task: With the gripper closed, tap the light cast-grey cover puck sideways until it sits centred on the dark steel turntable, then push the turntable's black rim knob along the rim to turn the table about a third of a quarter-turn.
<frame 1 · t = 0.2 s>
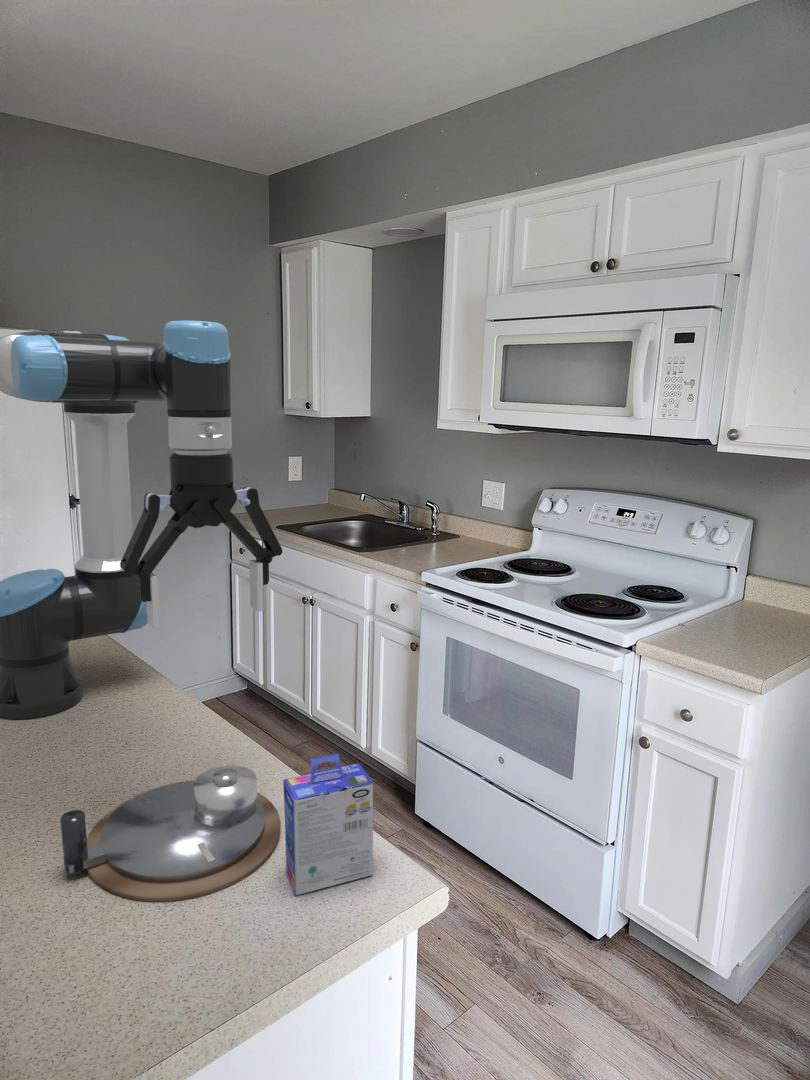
hand: (207, 617, 94), 28 cm above the counter, fingers open, 13 cm apart
base: (185, 837, 94), on the counter
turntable: (167, 812, 92), point 4 cm above the counter, hinge at 0.0°, touching cover
cover: (226, 808, 96), point 2 cm above the counter, touching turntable
ink cartridge box: (328, 873, 88), on the counter
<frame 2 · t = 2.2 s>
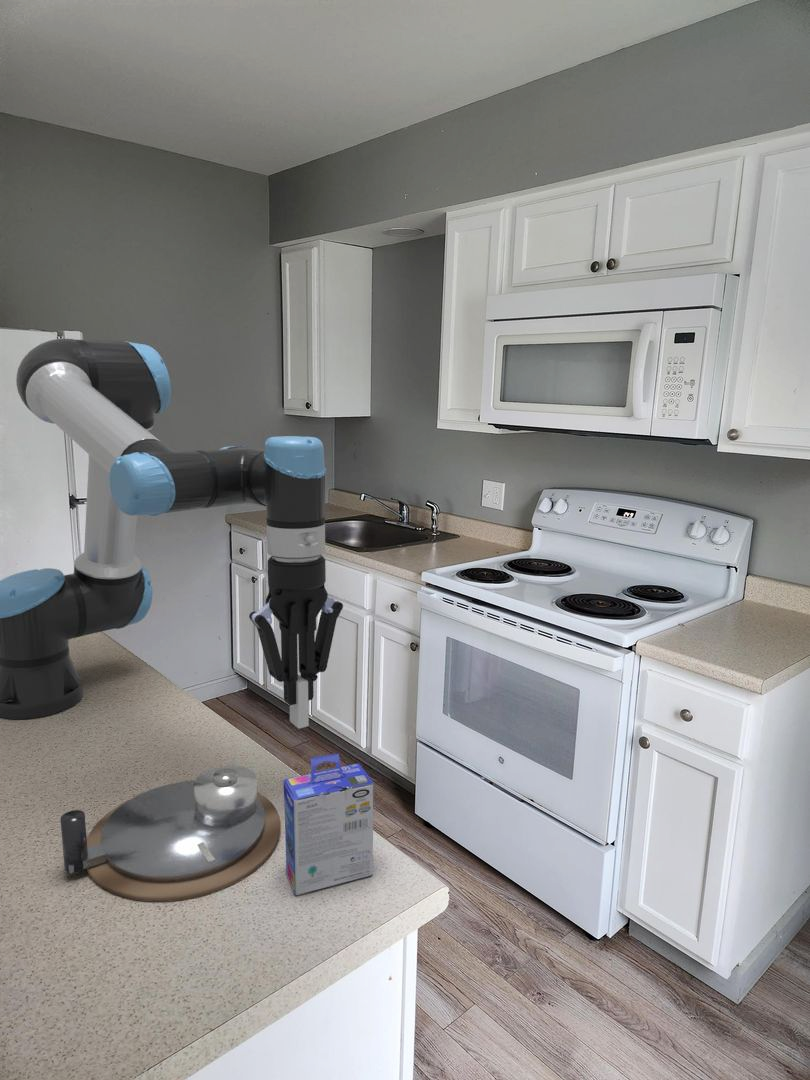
hand: (299, 723, 100), 12 cm above the counter, fingers closed
nothing on the counter moved.
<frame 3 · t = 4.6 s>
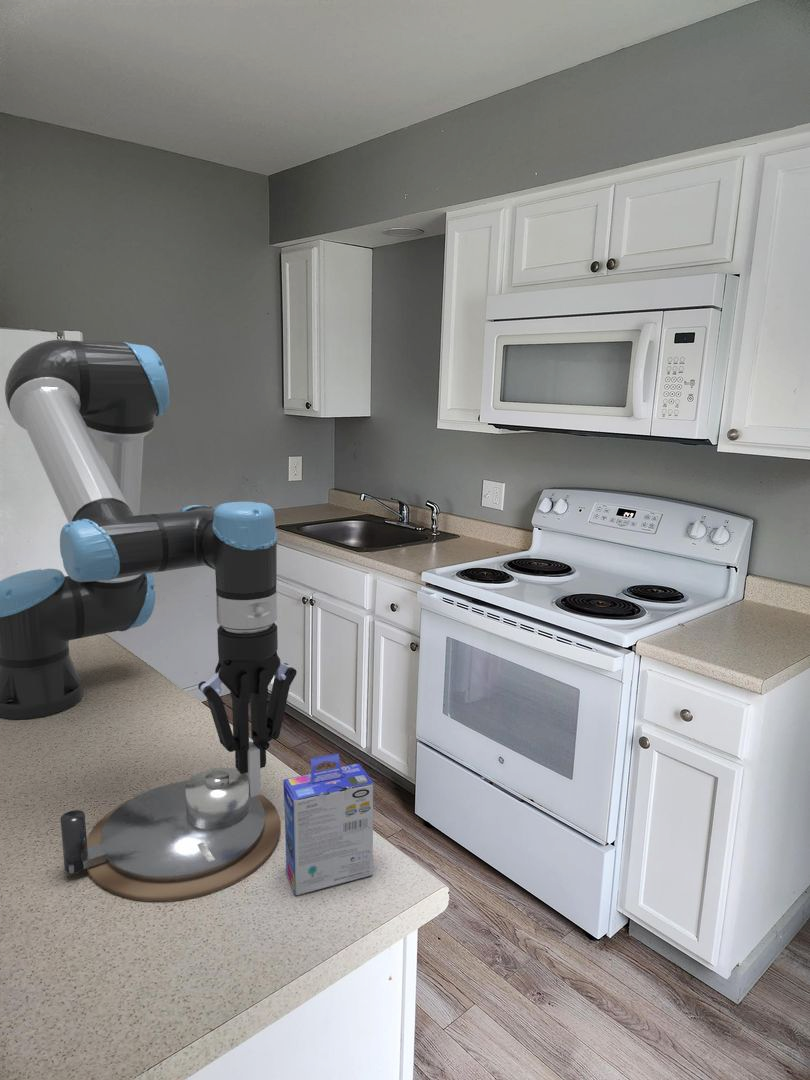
hand: (251, 791, 98), 4 cm above the counter, fingers closed
cover: (218, 811, 96), point 2 cm above the counter, touching gripper, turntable
everything else where it was.
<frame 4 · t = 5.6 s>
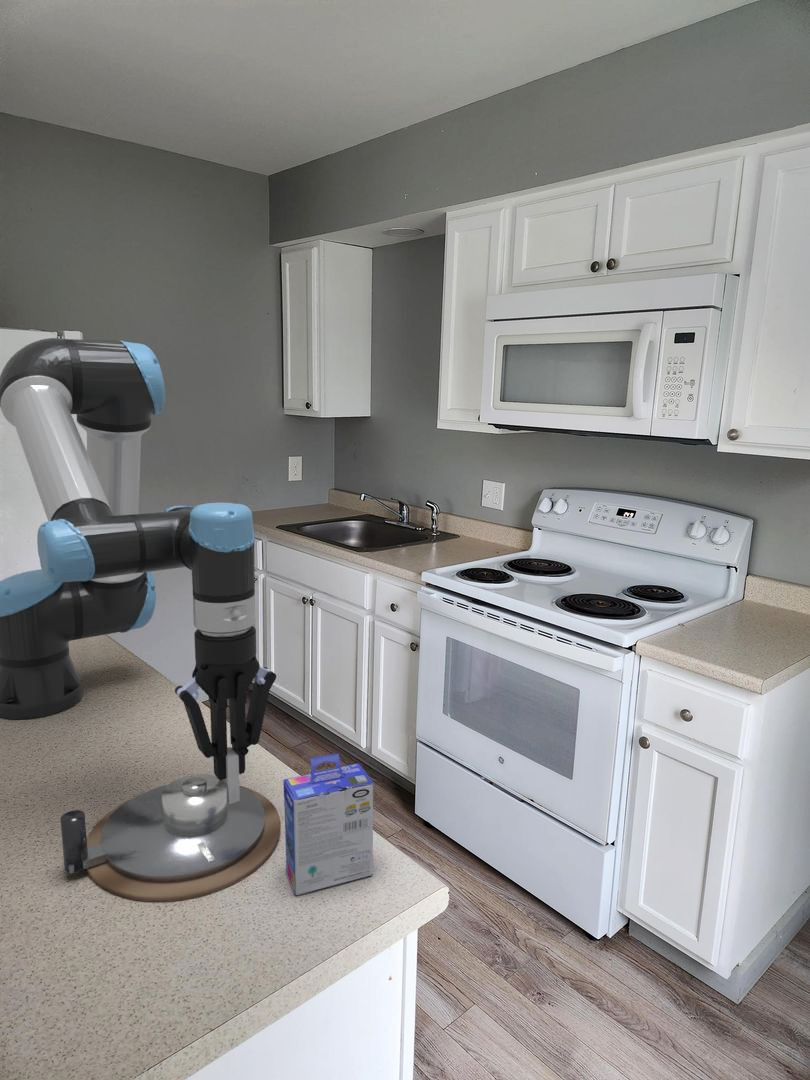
hand: (230, 797, 96), 4 cm above the counter, fingers closed
cover: (195, 818, 94), point 2 cm above the counter, touching gripper, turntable
everything else where it was.
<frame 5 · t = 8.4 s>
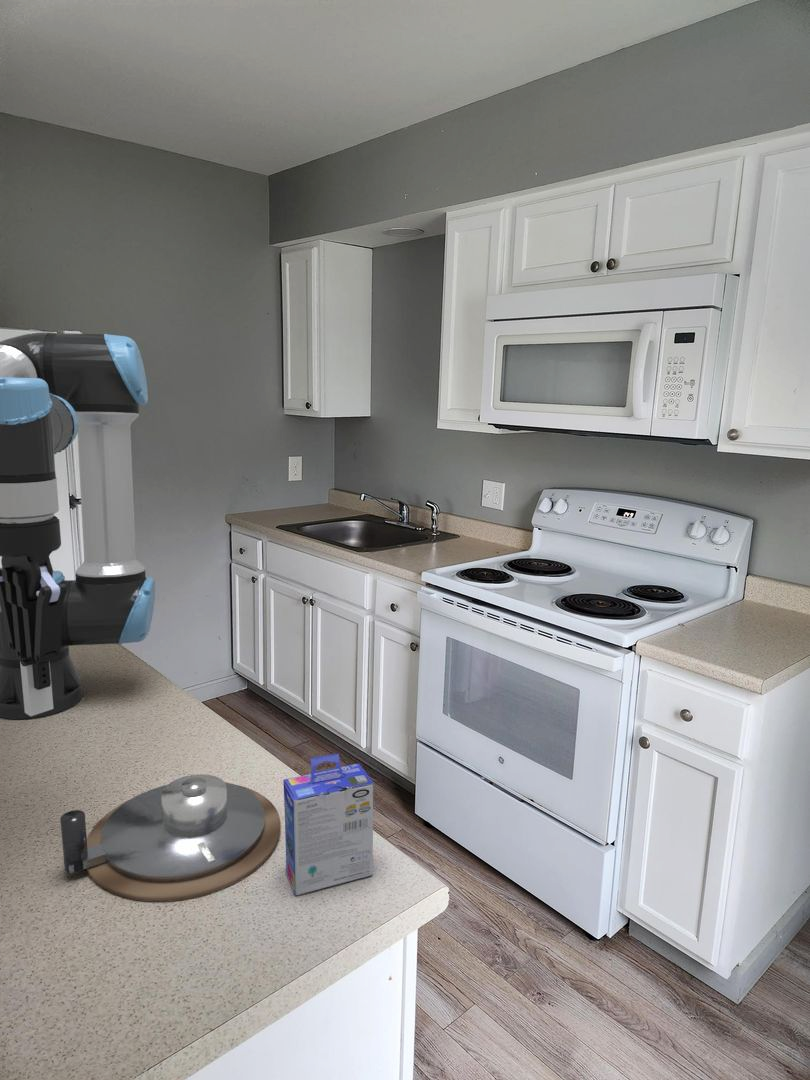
hand: (39, 710, 87), 18 cm above the counter, fingers closed
cover: (195, 818, 94), point 2 cm above the counter, touching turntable
everything else where it was.
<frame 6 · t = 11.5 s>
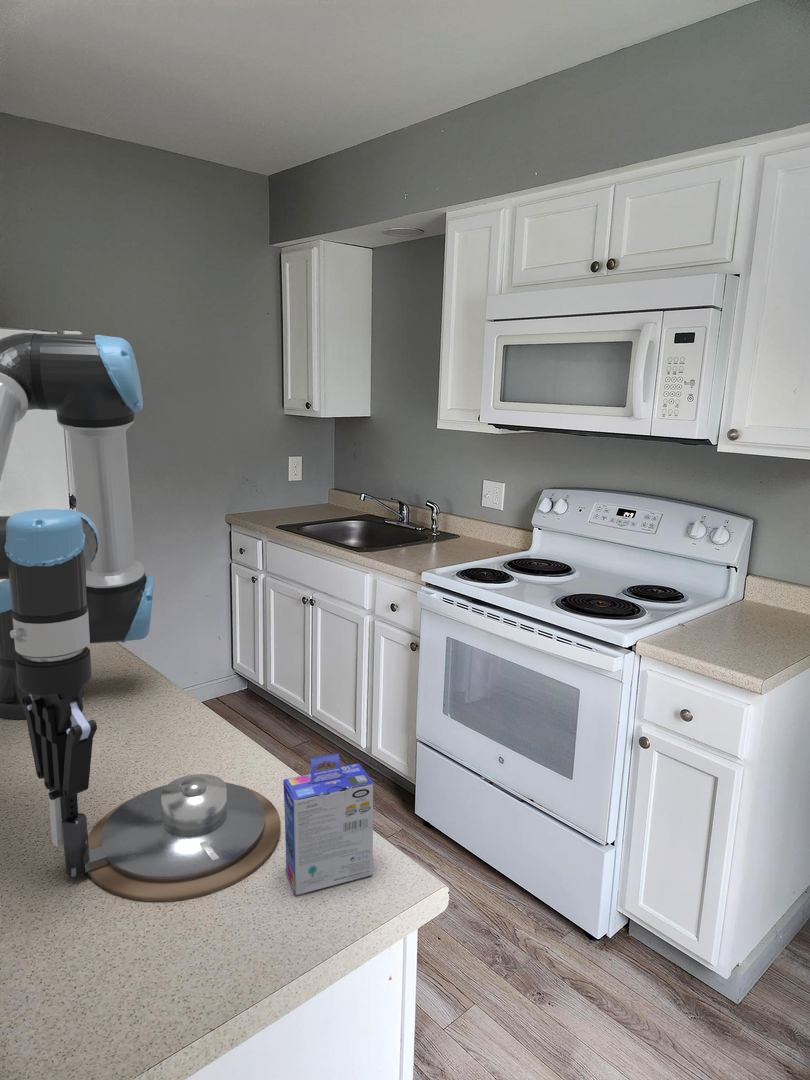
hand: (66, 839, 86), 4 cm above the counter, fingers closed
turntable: (167, 813, 91), point 4 cm above the counter, hinge at 3.2°, touching cover, gripper
everything else where it was.
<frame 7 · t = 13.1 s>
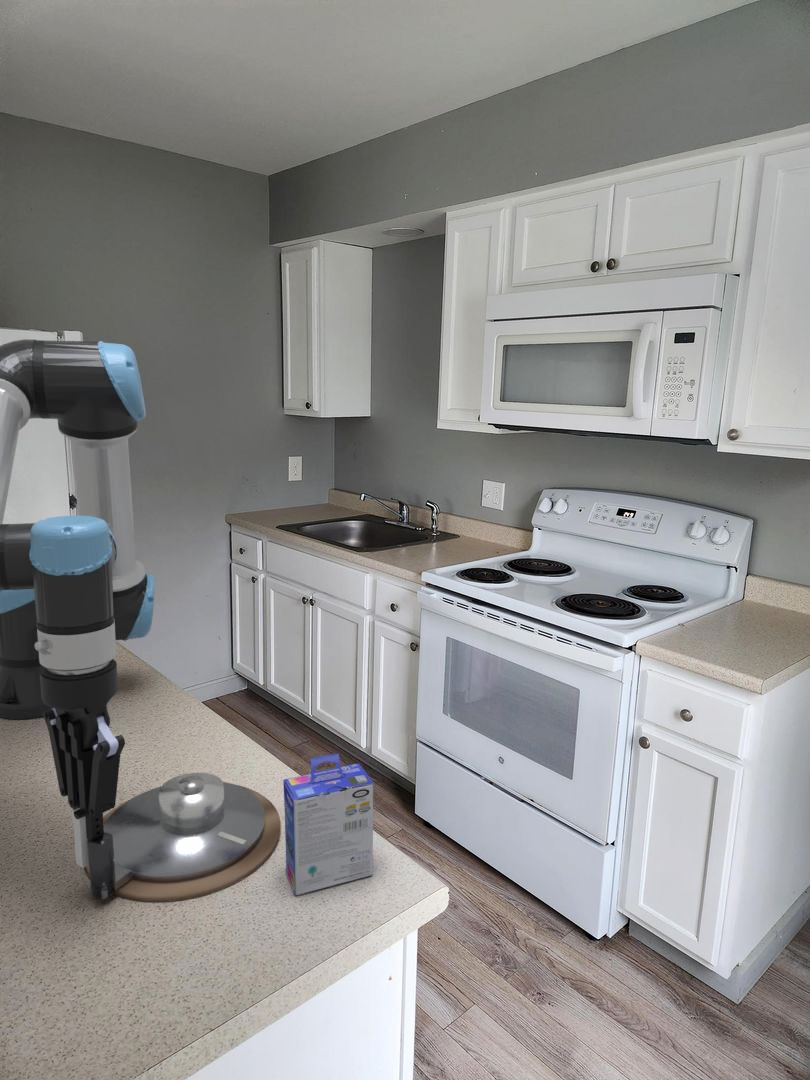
hand: (90, 859, 82), 4 cm above the counter, fingers closed
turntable: (172, 815, 91), point 4 cm above the counter, hinge at 28.8°, touching cover, gripper
everything else where it was.
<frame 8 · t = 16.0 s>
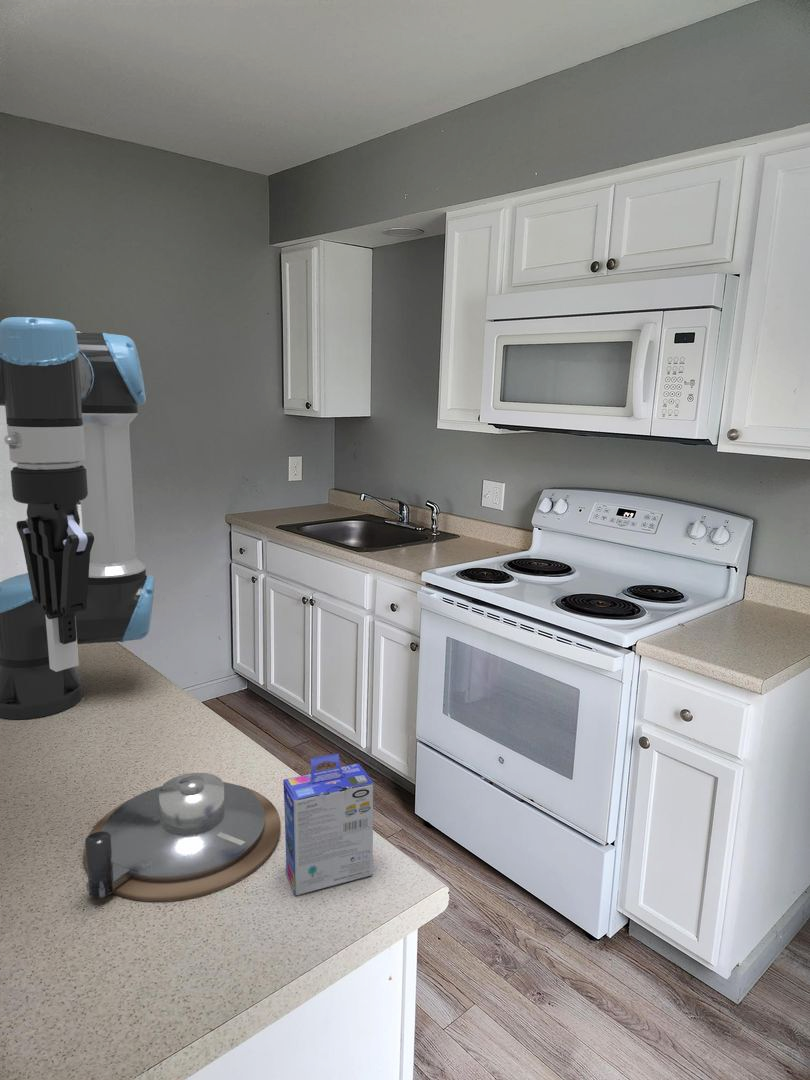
hand: (64, 666, 85), 24 cm above the counter, fingers closed
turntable: (172, 815, 91), point 4 cm above the counter, hinge at 27.3°, touching cover
everything else where it was.
at the end: cover 1.3 cm from the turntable (horizontally); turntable at +27° (first picture: +0°); cover tilted 0° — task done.
